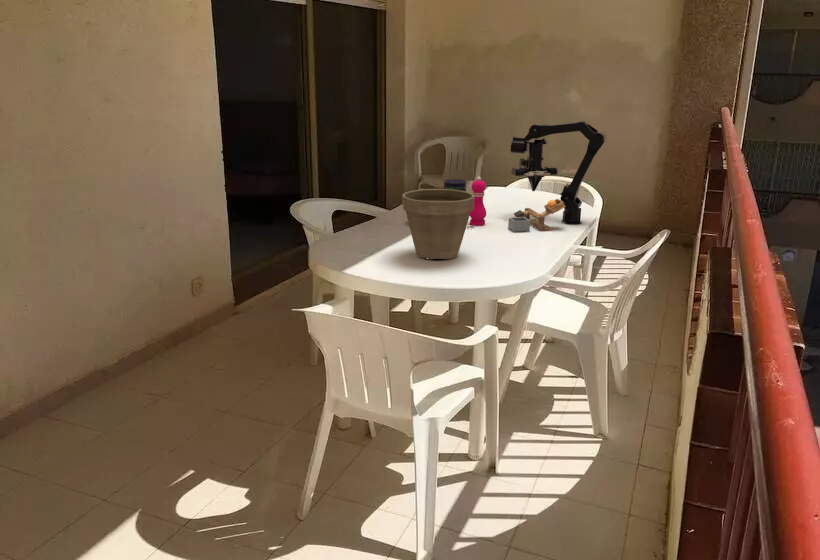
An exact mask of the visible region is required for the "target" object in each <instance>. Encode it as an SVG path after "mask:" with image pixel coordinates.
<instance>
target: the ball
mask: <svg viewBox="0 0 820 560" xmlns="http://www.w3.org/2000/svg"><path fill="white" fill-rule="evenodd" d="M554 200H555V199H550V200H549V201H548V202H547V204H546V205H548V207H550V208H552V207H554V206H555V205H556V202H555V201H554Z"/></svg>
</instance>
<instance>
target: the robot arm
mask: <svg viewBox="0 0 820 560" xmlns="http://www.w3.org/2000/svg"><path fill="white" fill-rule="evenodd" d="M574 132H580V133H581V134H582V135H583V136H584V137H585V138H586V139H587V140H588V144H587V147H586V151H585V152H586V153H585V154H584V156H583V159H582V161H581V163H580V164H579V166H578V168H577V170H576V172H575V174H574V176H573V179H572V180H571V182H570V184H569V183H566V184H565V185H564V186H563V188H562V191H561V193H560V194H559V195H560V199H559V200H561V201H563V202H564V204H565V208H563V211H562V219H561V222H563V223H565V224H567V225H577V224H583V222H582V221H581V218H582V217H581V216H582V215H581V214H582V208H581V206H582V204H583V201H582V200H581V199H580V198H579V197H578V196H579V192H580V189H581V185H582V183H583V181H584V179H585V177H586V176H587V173H588V171H589V169H590V167H591V166H592V163H593V161H594V159H595V158H596V156H597V154H598V153H599V152H600V150H601V149H602V148H603V147H604V146H605V144H606V143H607V140H608V136H607V135H606V133H605V132H603V131H599V130H598V129H597V128H595V127H593V126H592V125H591V124H589V123H588V122H587V121H586V120H579V121H574V122H573V121H572V122H564V123H555V124H550V123H534V124H532V125H531V126H530V127H529V129H528V133H527V134H526V135H525V137H521V136H520V137H519V136H513V137H512V141H511V145H510V153H511V154H522V155H525V154H526V153H527V152H528V156H527V158H526V159H525V158H519V166H518V167H517V166H516V167H512V169H511V175H513V176H515V177H516V176H517V177H522V176H523V177H524V176H525V177H526V178H527V179H528V182H529V185H530V188H531V191H532V192H536V189H537V187H538V186H539V184H540V182H541V180H542V179H543V178H545V175H544V174H549V175H551V176H555V175H556V176H557V175H558V173H559V172H558V171H559V170H558V168H557V167H555V166H553V165H551V166H549V165H547V166H544V168H543V160H544V156H543V154H544V153H543V151H544V145H547V144H549V141H548V140H547V139H546V136H550V135H554V134H564V133H566V134H567V133H574ZM541 138H542V139H541ZM532 140H533V141H532Z"/></svg>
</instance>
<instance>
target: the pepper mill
mask: <svg viewBox="0 0 820 560" xmlns="http://www.w3.org/2000/svg"><path fill="white" fill-rule="evenodd" d="M470 188H471V190H472V193H471V194H473V195H474V207H473V210H472V211H471V212H470V216H469V225H471V226H475V227H480V226H484V225H486V219H485V218H486V217H487V210H486V208H485V204H484V196H485V190H486V189H487V185H486V183H485V181H484V180H482V177H481V176H477V177H476V180H474V181H472V183H471V187H470Z"/></svg>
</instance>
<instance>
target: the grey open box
mask: <svg viewBox="0 0 820 560" xmlns="http://www.w3.org/2000/svg"><path fill="white" fill-rule="evenodd" d="M507 223H508V224H507V228H508V230H510V231H511V232H512V233H528V232H527V231H530V232H531V229H530V227H531V225H530V220H528V219H527V218H525V217H516V216H514V217H508V222H507Z"/></svg>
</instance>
